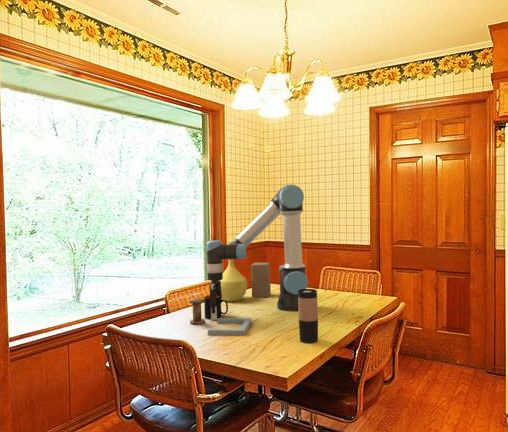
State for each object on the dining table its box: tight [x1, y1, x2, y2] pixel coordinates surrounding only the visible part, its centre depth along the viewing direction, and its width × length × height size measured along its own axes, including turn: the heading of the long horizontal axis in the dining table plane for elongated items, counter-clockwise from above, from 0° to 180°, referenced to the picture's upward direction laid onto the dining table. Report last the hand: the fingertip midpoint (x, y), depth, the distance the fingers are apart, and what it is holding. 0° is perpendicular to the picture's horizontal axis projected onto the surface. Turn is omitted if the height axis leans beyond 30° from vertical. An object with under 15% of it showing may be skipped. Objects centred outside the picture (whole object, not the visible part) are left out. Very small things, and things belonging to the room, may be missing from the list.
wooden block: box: [250, 262, 272, 299], centre depth 256 cm, size 10×10×20 cm
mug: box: [203, 294, 229, 320], centre depth 208 cm, size 8×12×10 cm
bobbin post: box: [189, 297, 206, 326], centre depth 199 cm, size 7×7×11 cm
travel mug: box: [297, 288, 319, 344], centre depth 167 cm, size 8×8×20 cm
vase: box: [219, 259, 248, 303], centre depth 247 cm, size 18×18×30 cm
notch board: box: [207, 317, 253, 336], centre depth 188 cm, size 16×20×2 cm
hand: (216, 316), depth 208 cm, fingers open, 9 cm apart
